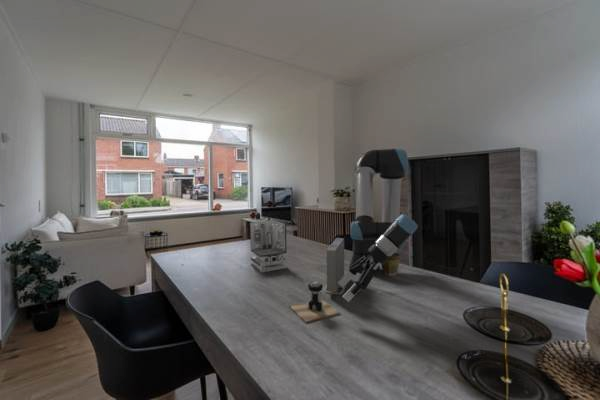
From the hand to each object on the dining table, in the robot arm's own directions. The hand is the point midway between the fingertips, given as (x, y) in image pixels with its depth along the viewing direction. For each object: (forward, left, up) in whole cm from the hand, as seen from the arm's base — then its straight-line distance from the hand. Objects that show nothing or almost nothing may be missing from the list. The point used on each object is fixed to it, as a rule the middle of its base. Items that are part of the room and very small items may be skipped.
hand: (342, 291), depth 103 cm
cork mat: (-5, -10, -7) cm, 13 cm away
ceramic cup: (-24, +45, -7) cm, 52 cm away
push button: (-5, -10, -6) cm, 13 cm away
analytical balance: (-64, -7, -7) cm, 64 cm away
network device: (-21, +11, -7) cm, 25 cm away
